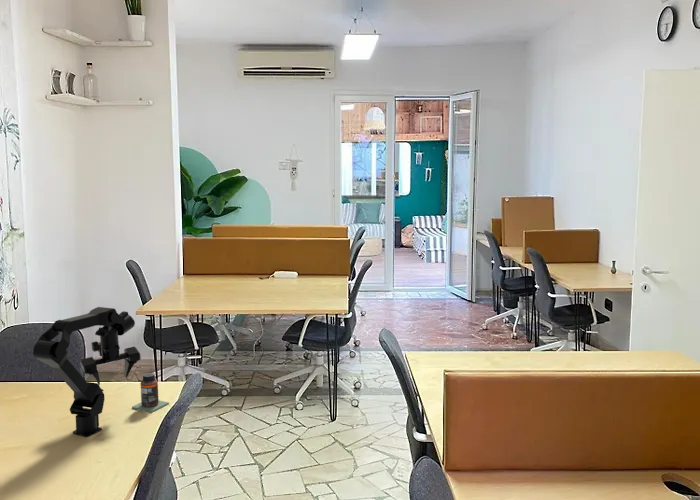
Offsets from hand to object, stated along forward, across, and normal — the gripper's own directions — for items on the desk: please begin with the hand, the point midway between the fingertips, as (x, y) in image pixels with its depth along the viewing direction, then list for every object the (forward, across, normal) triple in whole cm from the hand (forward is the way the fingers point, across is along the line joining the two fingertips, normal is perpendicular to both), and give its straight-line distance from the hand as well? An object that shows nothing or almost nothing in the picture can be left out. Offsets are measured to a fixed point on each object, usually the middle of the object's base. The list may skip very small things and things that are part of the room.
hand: (112, 380), depth 222 cm
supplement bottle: (+12, -11, +4) cm, 17 cm away
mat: (+12, -11, +4) cm, 17 cm away
